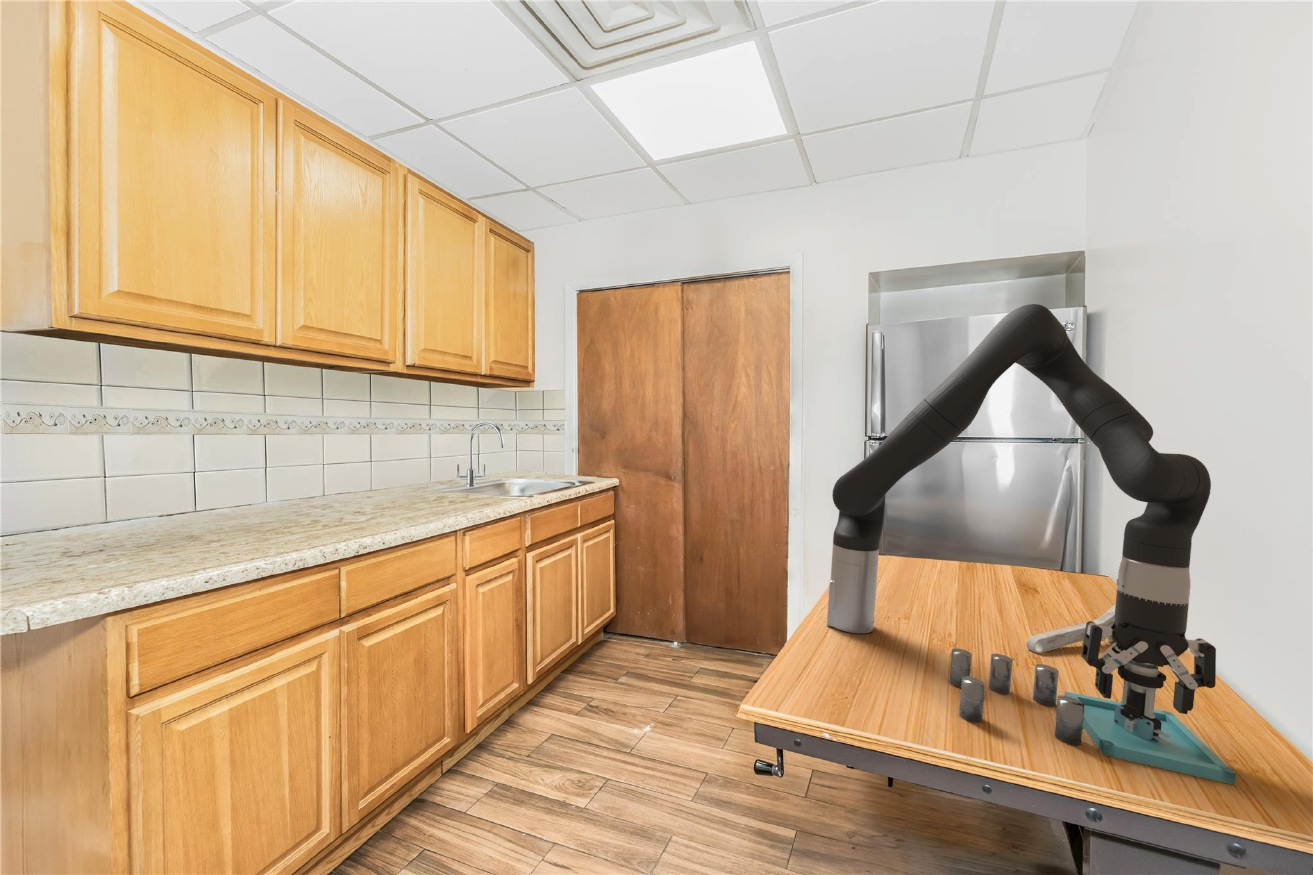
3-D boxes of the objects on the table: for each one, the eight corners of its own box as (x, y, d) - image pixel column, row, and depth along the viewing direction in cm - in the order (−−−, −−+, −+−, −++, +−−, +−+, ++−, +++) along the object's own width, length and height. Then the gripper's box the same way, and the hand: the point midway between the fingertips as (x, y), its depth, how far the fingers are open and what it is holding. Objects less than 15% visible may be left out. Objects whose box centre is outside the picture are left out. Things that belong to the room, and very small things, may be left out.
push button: (1181, 745, 74) (1188, 675, 73) (1154, 749, 72) (1160, 678, 72) (1128, 718, 80) (1134, 653, 80) (1102, 722, 79) (1107, 656, 78)
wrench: (1026, 664, 106) (1128, 635, 115) (1035, 668, 104) (1138, 638, 113) (1025, 625, 105) (1128, 599, 114) (1034, 628, 104) (1138, 602, 113)
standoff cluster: (960, 719, 79) (963, 683, 78) (947, 675, 93) (949, 644, 92) (1084, 748, 73) (1088, 709, 73) (1050, 696, 87) (1053, 663, 87)
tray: (1102, 754, 72) (1103, 743, 72) (1064, 700, 86) (1065, 691, 86) (1234, 785, 67) (1235, 773, 67) (1170, 722, 81) (1171, 712, 81)
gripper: (1100, 591, 75) (1090, 703, 75) (1235, 610, 69) (1223, 730, 70) (1081, 577, 82) (1072, 680, 82) (1202, 593, 76) (1191, 703, 77)
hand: (1141, 703), depth 76 cm, fingers open, 8 cm apart
